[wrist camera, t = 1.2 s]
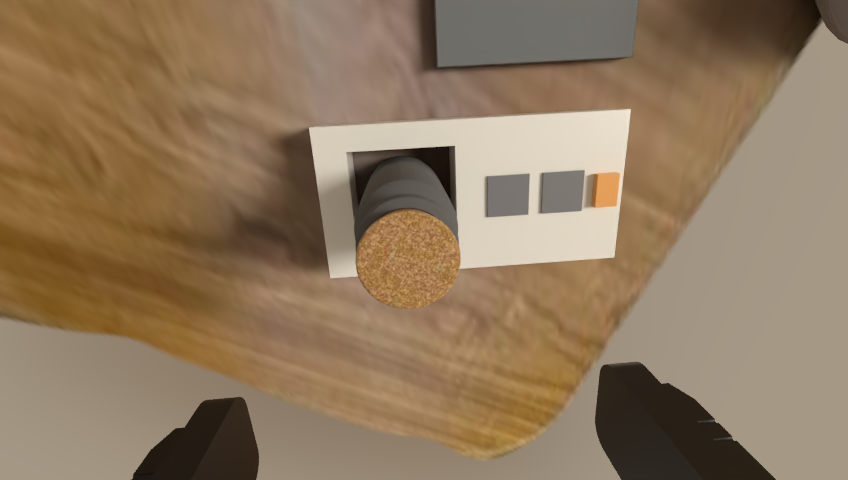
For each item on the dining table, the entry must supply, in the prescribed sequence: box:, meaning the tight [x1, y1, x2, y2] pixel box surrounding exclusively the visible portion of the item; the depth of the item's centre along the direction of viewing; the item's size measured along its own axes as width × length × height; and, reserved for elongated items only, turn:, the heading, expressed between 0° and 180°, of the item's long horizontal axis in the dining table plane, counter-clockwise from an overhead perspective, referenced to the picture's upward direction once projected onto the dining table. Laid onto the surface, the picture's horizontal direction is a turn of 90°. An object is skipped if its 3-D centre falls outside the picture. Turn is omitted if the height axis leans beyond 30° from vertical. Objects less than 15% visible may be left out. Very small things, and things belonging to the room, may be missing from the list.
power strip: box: [309, 109, 631, 278], centre depth 30 cm, size 22×11×4 cm, turn 93°
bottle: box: [354, 156, 461, 309], centre depth 25 cm, size 6×6×15 cm
